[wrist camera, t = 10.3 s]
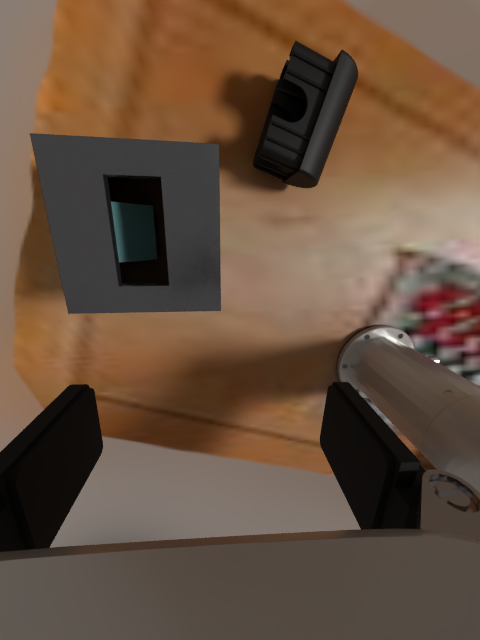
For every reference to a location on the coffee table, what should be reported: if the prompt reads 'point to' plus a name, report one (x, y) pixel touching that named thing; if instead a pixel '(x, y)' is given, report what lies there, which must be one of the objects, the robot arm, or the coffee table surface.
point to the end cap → (305, 115)
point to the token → (134, 231)
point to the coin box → (98, 226)
